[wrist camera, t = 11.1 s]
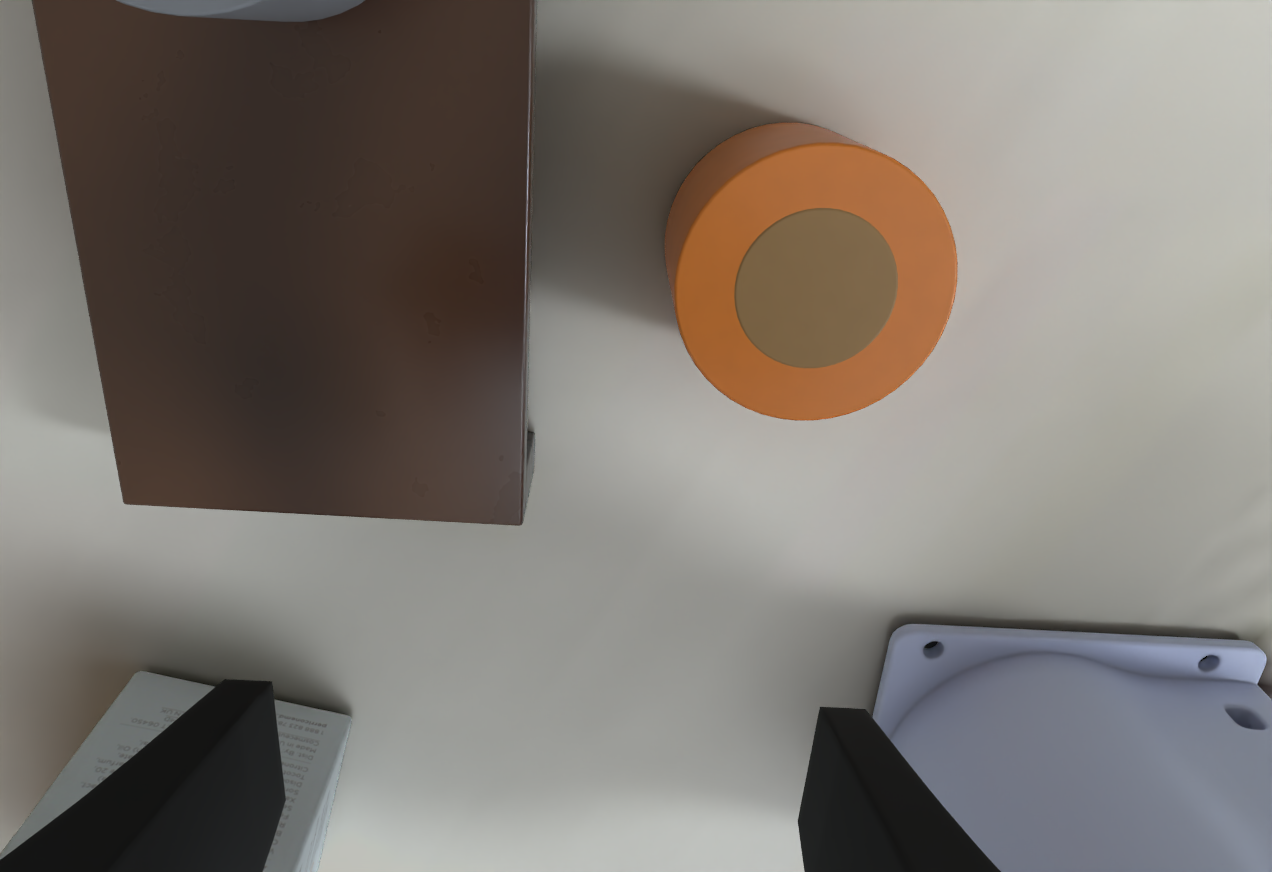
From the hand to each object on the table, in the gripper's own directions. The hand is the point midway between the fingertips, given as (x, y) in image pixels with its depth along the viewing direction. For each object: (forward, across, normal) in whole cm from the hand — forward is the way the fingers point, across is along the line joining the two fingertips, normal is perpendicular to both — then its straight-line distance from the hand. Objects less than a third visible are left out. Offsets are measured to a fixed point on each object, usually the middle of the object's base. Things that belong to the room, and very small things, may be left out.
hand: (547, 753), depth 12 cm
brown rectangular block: (+9, +5, -7) cm, 13 cm away
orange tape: (+9, -4, -5) cm, 11 cm away
